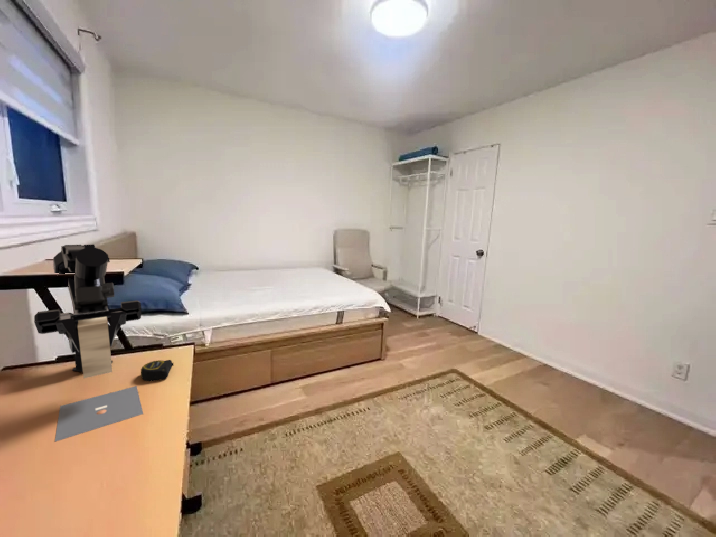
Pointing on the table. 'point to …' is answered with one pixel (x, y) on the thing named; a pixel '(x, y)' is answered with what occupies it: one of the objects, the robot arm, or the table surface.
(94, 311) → the robot arm
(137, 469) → the table surface
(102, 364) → the birch block
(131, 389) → the slate tile
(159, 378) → the tape measure
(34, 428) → the table surface
